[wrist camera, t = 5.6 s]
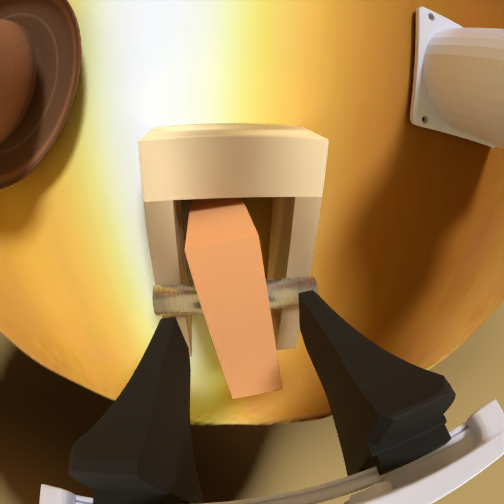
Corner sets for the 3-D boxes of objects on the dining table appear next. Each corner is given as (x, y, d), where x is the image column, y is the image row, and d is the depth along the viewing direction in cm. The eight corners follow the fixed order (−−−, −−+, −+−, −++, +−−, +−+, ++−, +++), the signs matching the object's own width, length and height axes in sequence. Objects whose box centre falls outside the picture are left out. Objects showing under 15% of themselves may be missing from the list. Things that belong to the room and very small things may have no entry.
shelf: (299, 125, 15) (343, 147, 10) (281, 304, 21) (301, 365, 16) (154, 126, 14) (129, 149, 9) (174, 311, 20) (170, 376, 15)
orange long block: (238, 189, 15) (258, 234, 10) (260, 314, 19) (282, 388, 13) (190, 199, 15) (184, 250, 9) (222, 322, 18) (233, 399, 13)
